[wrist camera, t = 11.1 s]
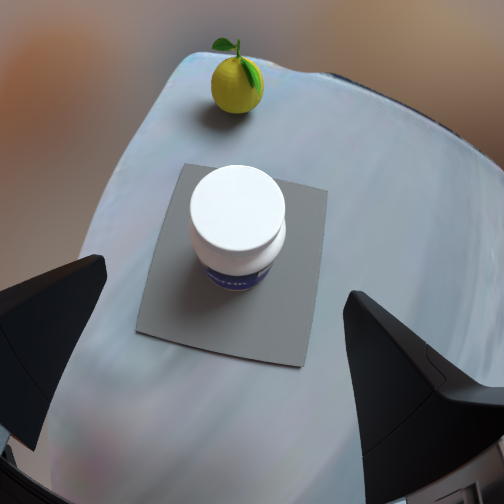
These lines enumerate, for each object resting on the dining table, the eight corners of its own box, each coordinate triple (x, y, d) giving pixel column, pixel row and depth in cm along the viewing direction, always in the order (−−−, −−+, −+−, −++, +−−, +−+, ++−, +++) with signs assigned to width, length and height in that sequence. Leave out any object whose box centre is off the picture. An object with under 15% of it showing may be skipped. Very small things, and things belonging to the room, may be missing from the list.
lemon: (214, 91, 29) (210, 25, 19) (262, 94, 29) (270, 27, 19) (205, 129, 27) (196, 54, 17) (259, 132, 27) (268, 57, 18)
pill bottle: (188, 268, 22) (155, 221, 12) (226, 214, 23) (221, 140, 14) (248, 306, 21) (258, 285, 12) (283, 247, 23) (315, 189, 13)
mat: (302, 366, 21) (304, 366, 20) (137, 330, 21) (135, 330, 20) (325, 193, 25) (327, 190, 25) (185, 166, 25) (184, 163, 25)
